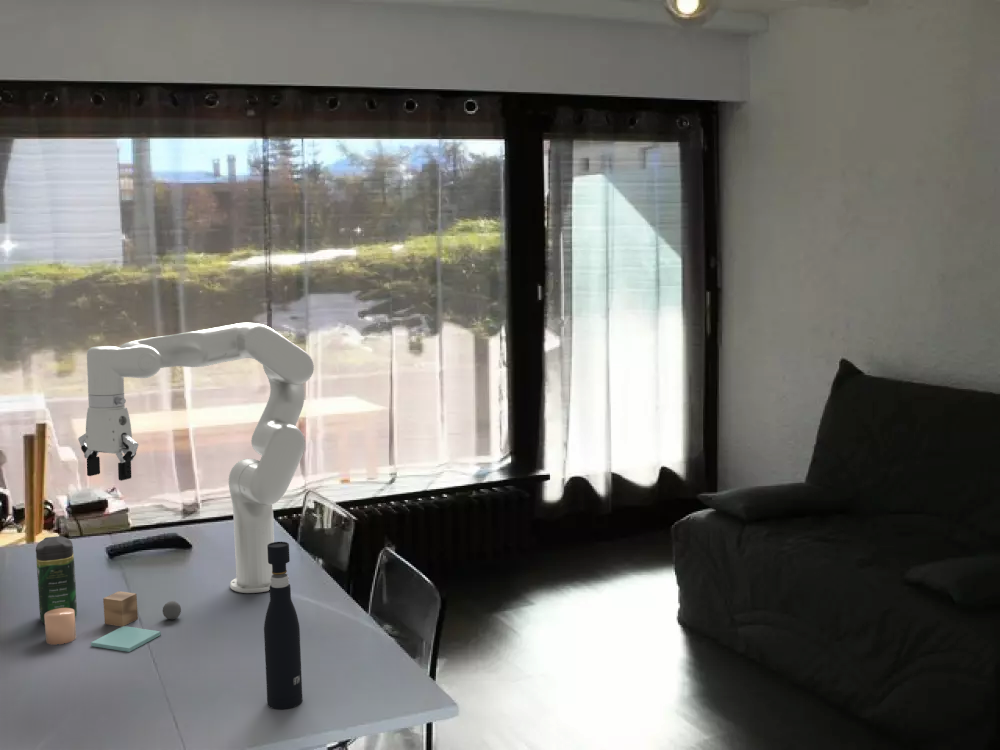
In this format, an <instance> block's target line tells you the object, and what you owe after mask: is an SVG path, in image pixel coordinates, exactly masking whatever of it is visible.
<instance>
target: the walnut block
mask: <svg viewBox="0 0 1000 750" xmlns="http://www.w3.org/2000/svg"><path fill="white" fill-rule="evenodd" d="M102 600H103V601H102V602H103V615H104V624H105V625H110V626H115V627H123V626H128V625H129V624H131V623H133V622H135V621H137V620H138V619H139V614H138V613H139V612H138V611H139V610H138V598H137V593H134V592H127V591H121V590H120V591H119V590H118V591H116V592H114V593H112V594H109V595H107V596H105V597H103V599H102Z"/></svg>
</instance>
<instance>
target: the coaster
mask: <svg viewBox="0 0 1000 750" xmlns="http://www.w3.org/2000/svg"><path fill="white" fill-rule="evenodd" d="M161 633H162V632H161V631H158V630H155V629H154V630H153V629H145V628H140V627H134V626H133V627H132V626H128V625H125V626H123V627H122V626H120V627H119V628H116V629H114V630H112V631H110V632H109V633H107V634H105V635H103V636H101V637H99V638H97V639H95V640H93V641H91V642H90V645H91V647H96V648H100V649H102V648H103V649H109V650H115V651H121V652H127V653H130V652H132V651H134V650H136V649H138V648H139V647H141V646H143V645H145V644H147V643H149V642H150V641H153V640H154V639H156V638H157V637H159V636H161Z"/></svg>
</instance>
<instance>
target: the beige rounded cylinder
mask: <svg viewBox="0 0 1000 750" xmlns="http://www.w3.org/2000/svg"><path fill="white" fill-rule="evenodd" d="M44 618H45V624H44V629H45V630H44V631H45V642H46V644H48V645H52V646H53V645H54V646H55V645H57V644H59V645H64V643H65V644H68V643H72V642H73V641H74V640H76V639H77V628H76V617H75V612H74V609H72V608H58V609H53V610H50V611H48V612H46V613H45V614H44ZM57 646H58V645H57Z"/></svg>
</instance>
